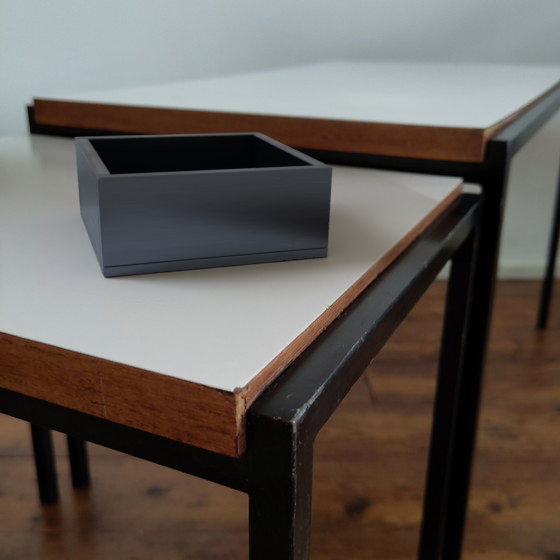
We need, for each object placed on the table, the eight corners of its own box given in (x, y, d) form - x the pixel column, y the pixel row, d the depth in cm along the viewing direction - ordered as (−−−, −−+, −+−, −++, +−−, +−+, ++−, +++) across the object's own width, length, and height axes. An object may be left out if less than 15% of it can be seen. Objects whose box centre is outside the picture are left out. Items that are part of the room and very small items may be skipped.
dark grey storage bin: (80, 214, 51) (74, 136, 49) (258, 203, 55) (259, 132, 53) (103, 277, 39) (97, 178, 37) (327, 257, 43) (333, 167, 41)
